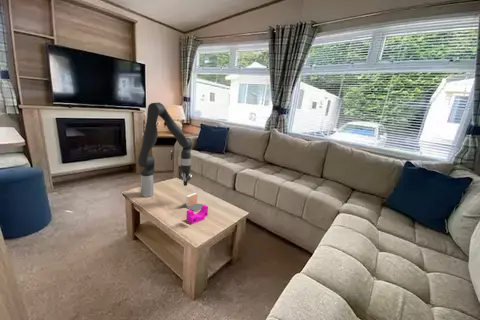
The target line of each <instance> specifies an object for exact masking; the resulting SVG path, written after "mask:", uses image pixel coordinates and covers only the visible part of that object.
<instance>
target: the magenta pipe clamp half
mask: <svg viewBox="0 0 480 320" xmlns="http://www.w3.org/2000/svg"><path fill="white" fill-rule="evenodd" d="M208 211H209V206H208V205H206V204H203V205H202V208H201V209H200V210H198V211H197V212H196V213H195V211H193V210H191V209H187V210H186V219H185V220H186V222H188V223H189V224H191V225H194V224H196V223H197V224H198V222H201V221H204V220H206V219H205V218H206V217H208V213H209V212H208Z"/></svg>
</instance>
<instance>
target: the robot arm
mask: <svg viewBox="0 0 480 320" xmlns="http://www.w3.org/2000/svg"><path fill="white" fill-rule="evenodd" d="M146 113H147V114H146V123H145V127H144V128H145V129H144V132H143V139H142V143H141V148H140V152H139V154H138V159H137V163H138V166H139V167H140V168H143V169H141V171H140V195H141V196H142V197H145V198H146V197H147V198H148V197H152V196H153V195H155V194H154V172H155V164H156V163H155V157H154V156H153V155H152V154H149V153H150V151H151V150H152V149H153V147H154V146H155V144H156V143H157V140H158V134H159V132H158V128H157V127H158V126H157V122H158V117H160V118H161V119H162V121H164V123H165V125H166V127H167V129H168V131H169V132H170V133H171V134H172V135H173V137H175V139H176V141H177V143H178V144H179V145H180V147H182V149H181V152H180V172H178V175H179V177H180V179H181V180H182V181H183V183H182V184H183V186H184V187H186V186H188V182H189V181H190V180H191V179H192V178H193V175H192V173H191V169H192V168H191V167H192V159H191V157H192V155H191V154H192V153H191V152H192V151H191V150H192V147H193V146H192V145H193V141H192V139H191V138H190V137H186V136H185V135H184V132H183V130H182V129H181V128H180V127H179V126H178V124H177V123H176V122H175V121H174V120H173V118H172V116H171V115H170V114H169V111H168V110H167V109H166V107H165V106H164V104H162V103H161V102H151V103H149V104H148V106H147V112H146Z"/></svg>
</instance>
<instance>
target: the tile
mask: <svg viewBox="0 0 480 320" xmlns="http://www.w3.org/2000/svg"><path fill="white" fill-rule="evenodd" d="M185 204H186V206H188V207H189V206H192V205H194V204H198V193H196V192H194V193H191V194H189V195H186V201H185Z"/></svg>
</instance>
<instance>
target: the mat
mask: <svg viewBox="0 0 480 320" xmlns="http://www.w3.org/2000/svg"><path fill="white" fill-rule="evenodd" d="M202 205H204V204H203V203H196V204H194V205H192V206H189V207H188V206H186V203H185V204H182V207H184V208H186V209H187V210H192V211H193V212H194V213H195V212H196V213H197V212H199V211H200V210H201V208H202Z"/></svg>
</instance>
